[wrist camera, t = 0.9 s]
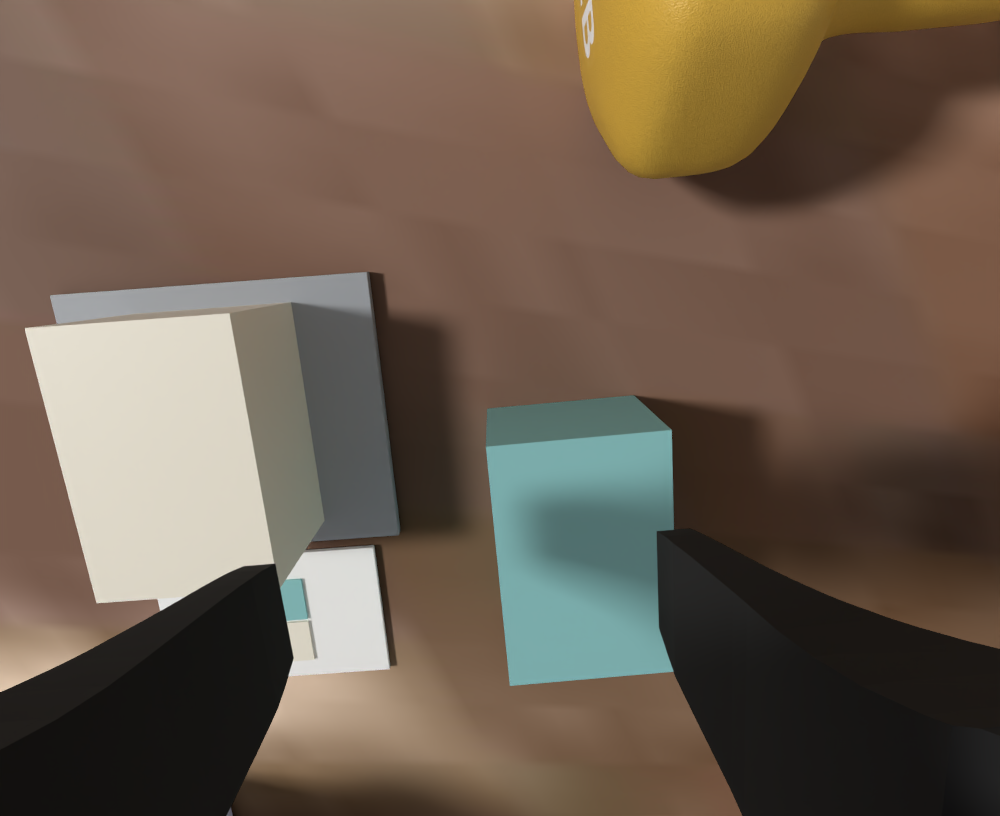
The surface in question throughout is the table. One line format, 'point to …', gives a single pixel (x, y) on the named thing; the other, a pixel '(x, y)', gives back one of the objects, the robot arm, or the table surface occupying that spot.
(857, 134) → the table surface
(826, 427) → the table surface
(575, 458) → the brick teal
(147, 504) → the brick cream
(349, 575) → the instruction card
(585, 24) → the dumbbell
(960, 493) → the table surface
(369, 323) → the build board
